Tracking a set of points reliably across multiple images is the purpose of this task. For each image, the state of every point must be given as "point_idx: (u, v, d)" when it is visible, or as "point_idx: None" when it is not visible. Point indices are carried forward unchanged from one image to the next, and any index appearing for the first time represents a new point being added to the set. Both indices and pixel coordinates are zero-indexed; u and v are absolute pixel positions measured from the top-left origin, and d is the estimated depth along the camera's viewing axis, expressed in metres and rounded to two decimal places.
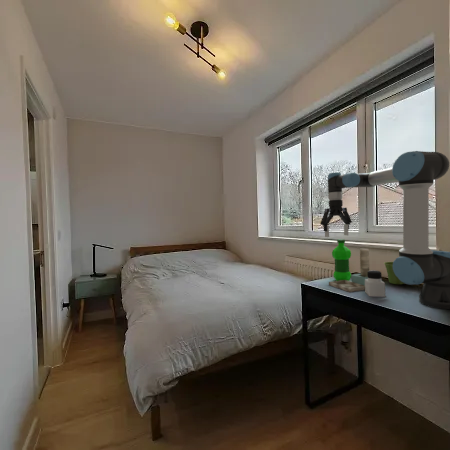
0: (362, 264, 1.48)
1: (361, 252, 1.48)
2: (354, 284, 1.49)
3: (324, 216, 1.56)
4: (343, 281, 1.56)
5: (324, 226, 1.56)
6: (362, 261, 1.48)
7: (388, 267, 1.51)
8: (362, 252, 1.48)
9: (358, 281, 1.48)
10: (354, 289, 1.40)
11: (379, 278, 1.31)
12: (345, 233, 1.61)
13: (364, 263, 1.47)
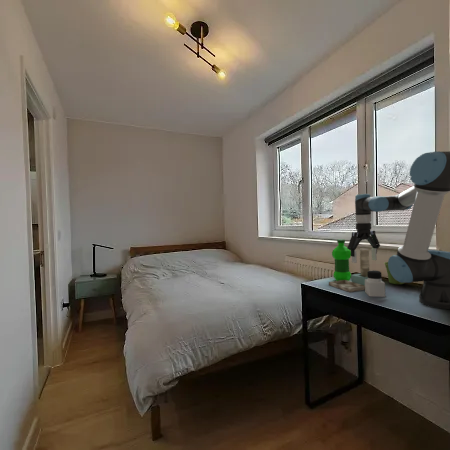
0: (362, 264, 1.48)
1: (361, 252, 1.48)
2: (354, 284, 1.49)
3: (351, 240, 1.46)
4: (343, 281, 1.56)
5: (351, 251, 1.47)
6: (362, 261, 1.48)
7: None
8: (362, 252, 1.48)
9: (358, 281, 1.48)
10: (354, 289, 1.40)
11: (379, 278, 1.31)
12: (373, 257, 1.52)
13: (364, 263, 1.47)
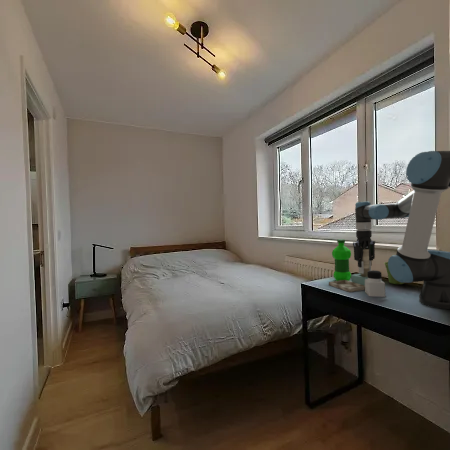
0: None
1: None
2: (354, 284, 1.49)
3: (355, 251, 1.47)
4: (343, 281, 1.56)
5: (358, 262, 1.48)
6: None
7: None
8: None
9: (358, 281, 1.48)
10: (354, 289, 1.40)
11: (379, 278, 1.31)
12: None
13: (364, 263, 1.47)
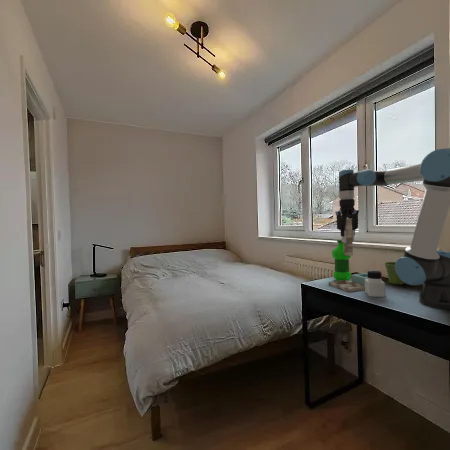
0: None
1: None
2: (354, 284, 1.49)
3: (338, 220, 1.46)
4: (343, 281, 1.56)
5: (341, 231, 1.47)
6: None
7: (388, 267, 1.51)
8: None
9: (358, 281, 1.48)
10: (354, 289, 1.40)
11: (379, 278, 1.31)
12: None
13: (347, 232, 1.46)
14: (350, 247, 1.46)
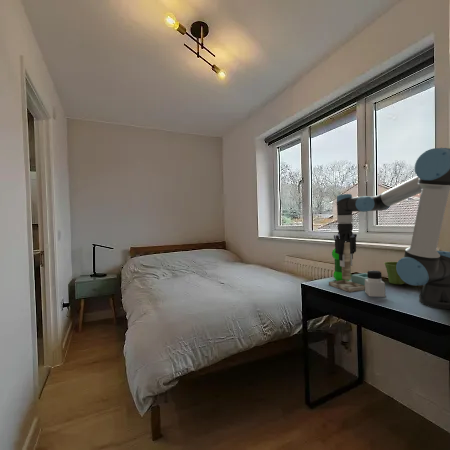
0: None
1: None
2: (354, 284, 1.49)
3: (336, 244, 1.46)
4: (343, 281, 1.56)
5: (339, 255, 1.47)
6: (343, 254, 1.47)
7: (388, 267, 1.51)
8: None
9: (358, 281, 1.48)
10: (354, 289, 1.40)
11: (379, 278, 1.31)
12: None
13: (345, 256, 1.46)
14: (348, 271, 1.46)
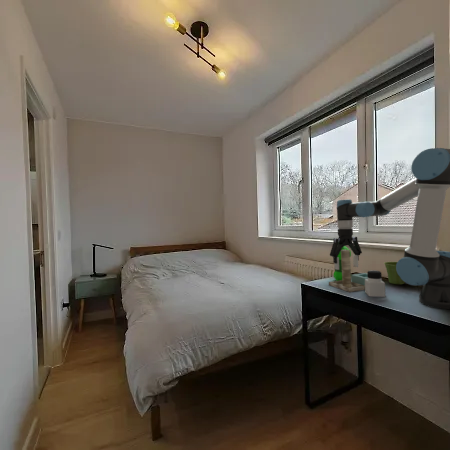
0: (343, 265, 1.47)
1: (342, 253, 1.47)
2: (354, 284, 1.49)
3: (333, 247, 1.45)
4: None
5: (334, 258, 1.46)
6: (343, 262, 1.47)
7: (388, 267, 1.51)
8: (343, 253, 1.46)
9: (358, 281, 1.48)
10: (354, 289, 1.40)
11: (379, 278, 1.31)
12: (354, 264, 1.50)
13: (345, 264, 1.46)
14: (349, 279, 1.46)
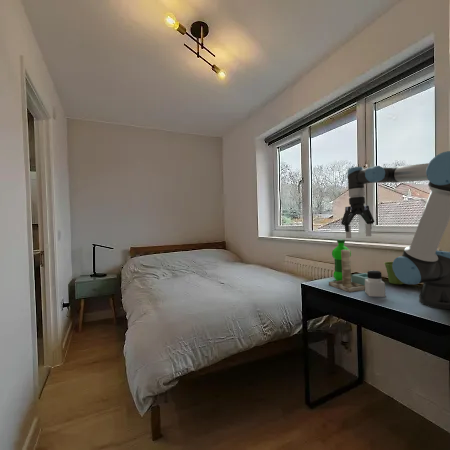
0: (343, 265, 1.47)
1: (342, 253, 1.47)
2: (354, 284, 1.49)
3: (345, 215, 1.41)
4: None
5: (345, 226, 1.41)
6: (343, 262, 1.47)
7: (388, 267, 1.51)
8: (343, 253, 1.47)
9: (358, 281, 1.48)
10: (354, 289, 1.40)
11: (379, 278, 1.31)
12: (367, 234, 1.47)
13: (345, 264, 1.46)
14: (349, 279, 1.46)
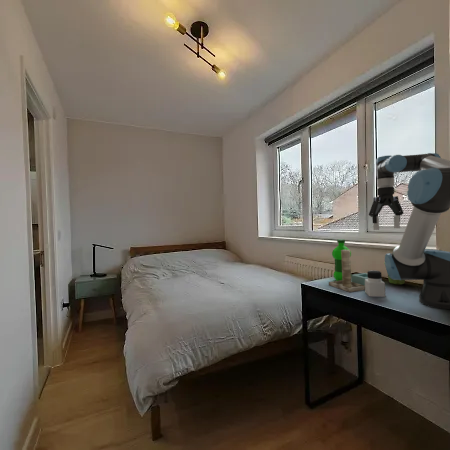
0: (343, 265, 1.47)
1: (342, 253, 1.47)
2: (354, 284, 1.49)
3: (373, 206, 1.36)
4: None
5: (373, 217, 1.37)
6: (343, 262, 1.47)
7: None
8: (343, 253, 1.46)
9: (358, 281, 1.48)
10: (354, 289, 1.40)
11: (379, 278, 1.31)
12: (396, 225, 1.41)
13: (345, 264, 1.46)
14: (349, 279, 1.46)
